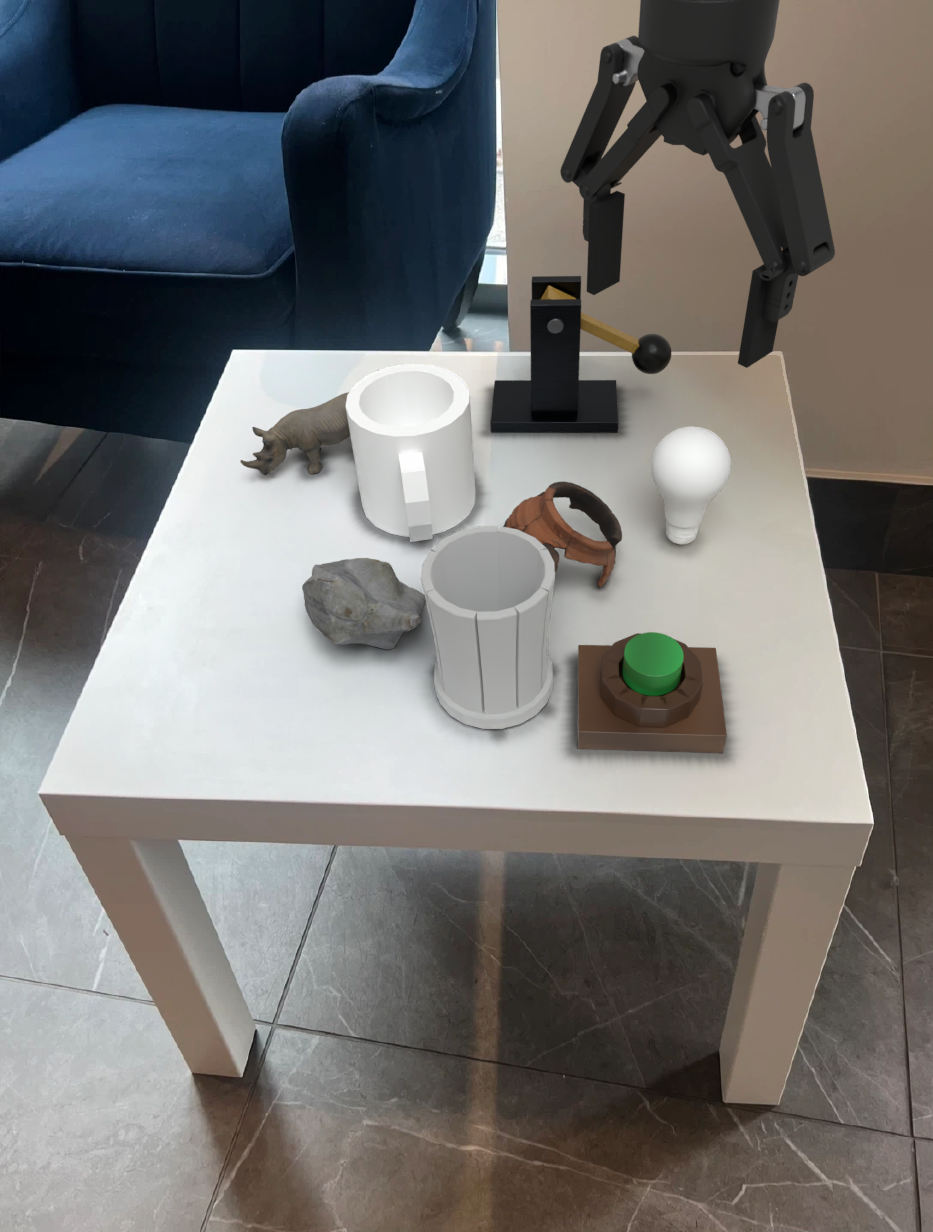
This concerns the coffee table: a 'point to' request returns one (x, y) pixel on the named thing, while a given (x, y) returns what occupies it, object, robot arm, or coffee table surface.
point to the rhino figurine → (302, 435)
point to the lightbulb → (689, 477)
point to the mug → (413, 449)
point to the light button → (652, 664)
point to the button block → (649, 704)
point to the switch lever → (624, 339)
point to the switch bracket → (555, 373)
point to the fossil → (361, 602)
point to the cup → (490, 624)
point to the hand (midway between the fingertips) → (675, 320)
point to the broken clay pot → (554, 532)
